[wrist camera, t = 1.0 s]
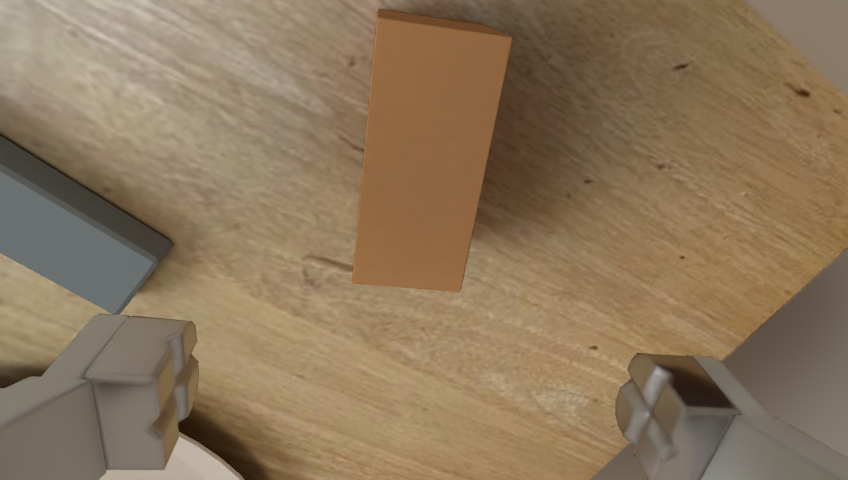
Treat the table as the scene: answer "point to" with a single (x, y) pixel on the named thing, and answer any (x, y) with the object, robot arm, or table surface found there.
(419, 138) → the brown rectangular block
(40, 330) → the table surface
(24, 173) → the bracket
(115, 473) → the plate
